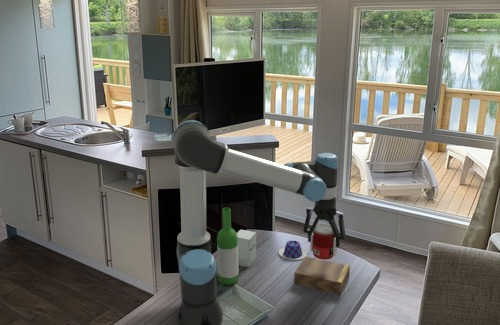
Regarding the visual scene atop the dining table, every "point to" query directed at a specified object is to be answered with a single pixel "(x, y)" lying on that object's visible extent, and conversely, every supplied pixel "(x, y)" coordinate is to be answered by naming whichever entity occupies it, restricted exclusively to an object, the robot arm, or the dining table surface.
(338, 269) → the wooden block
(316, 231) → the canned food
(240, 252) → the supplement box
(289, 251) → the pudding
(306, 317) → the dining table surface
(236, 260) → the wine bottle
